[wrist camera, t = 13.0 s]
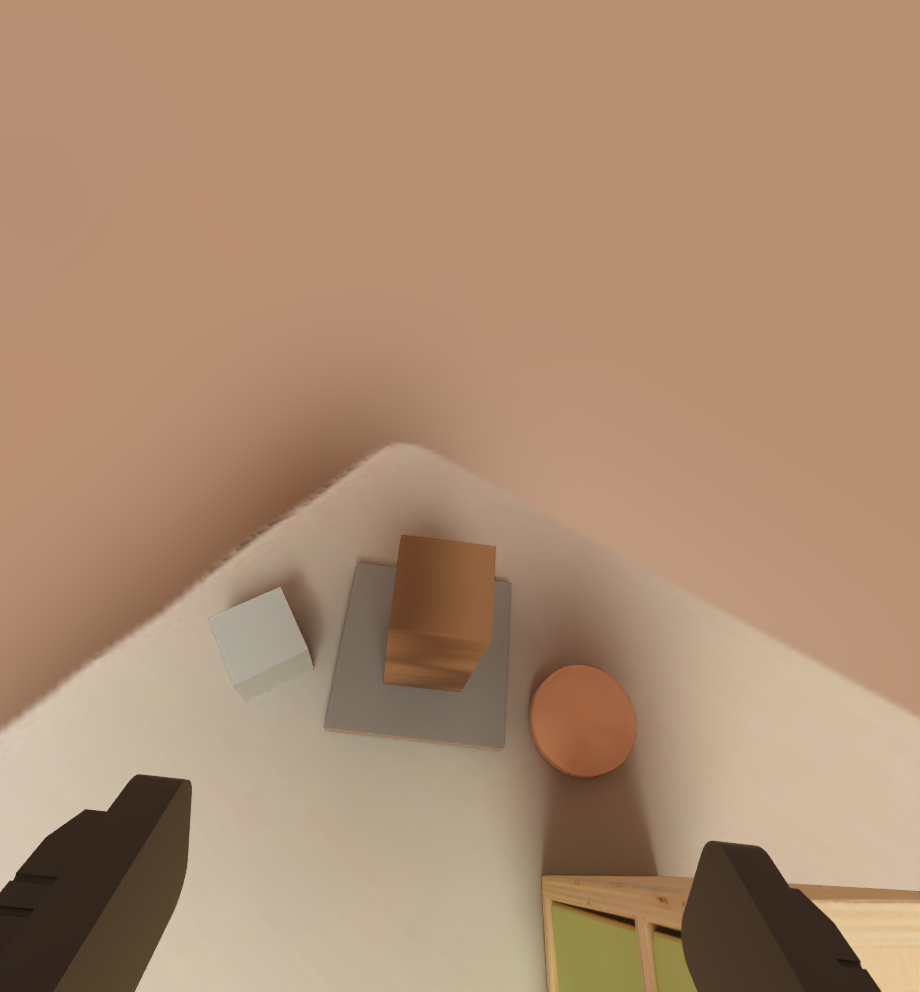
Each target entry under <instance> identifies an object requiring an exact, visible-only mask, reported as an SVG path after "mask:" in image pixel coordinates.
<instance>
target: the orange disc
mask: <svg viewBox="0 0 920 992" xmlns="http://www.w3.org/2000/svg"><path fill="white" fill-rule="evenodd" d="M528 721H529V729H530V733H531V736H532V739H533V742H534V744H535V746H536V748H537V749H538V751H539V752H540V754H541V755H542V756H543V758H544V759H545V760H546V761H547V762H548V763H549V764H550V765H551V766H553V767H554V768H556V769H557V770H559V771H561V772H562V773H565V774H567V775H570V776H574V777H580V778H587V777H594V776H598V775H601V774H604V773H607V772H609V771H612V770H613V769H615V768H617V767H618V766H619V765H620V764H622V763H623V762H624V760H625V759H626V758H627V757H628V755H629V753H630V752H631V750H632V747H633V744H634V741H635V736H636V718H635V713H634V710H633V707H632V704H631V702H630V700H629V697H628V696H627V694H626V692H625V691H624V690H623V688H622V687H621V686H620V685H619V684H618V683H617V681H616V680H614V679H613V678H612V677H611V676H609V675H608V674H607V673H605V672H603V671H601V670H599V669H597V668H594V667H591V666H587V665H570V666H566V667H563V668H560V669H558V670H556V671H555V672H554V673H552V674H551V675H550V676H549V677H548V678H547V679H546V680H545V681H544V682H542V683H541V684H540V686H539V687H538V688H537V690H536V691H535V693H534V695H533V697H532V700H531V703H530V707H529V716H528Z"/></svg>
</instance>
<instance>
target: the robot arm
mask: <svg viewBox="0 0 920 992" xmlns="http://www.w3.org/2000/svg"><path fill="white" fill-rule="evenodd" d="M191 797H192V785H191V782H190V780H186V779H177V778H168V777H159V776H150V775H141V774H138V775H136V776H134V777H133V778H132V779H131V780H130V781H129V783H128V784H127V785H126V786H125V788H124V789H123V790H122V792H121V793H120V795H119V796H118V797H117V799H116V800H115V801H114V803H113V804H112V805H111V807H110V808H109V809H108V811H107V812H105V811H96V810H87V809H85V810H84V811H83V812H81V813H80V814H78V815H77V816H75V817H74V818H73V819H71V820H70V821H68V822H67V823H66V824H64V825H63V826H61V827H60V828H58V829H57V830H56V831H54V832H53V833H51V834H50V835H48V836H47V837H46V838H45V839H44V840H43V841H42V843H41V844H40V845H39V846H38V847H37V849H36V850H35V851H34V852H33V853H32V855H31V856H30V857H29V858H28V860H27V861H26V862H25V863H24V864H23V866H22V867H21V868H20V869H19V870H18V872H17V873H16V876H15V878H14V880H13V881H9V882H8V884H7V885H6V886H5V887H4V888H3V890H2V891H1V892H0V992H135V990H136V988H137V986H138V984H139V982H140V980H141V978H142V975H143V973H144V971H145V969H146V967H147V965H148V963H149V961H150V959H151V957H152V955H153V953H154V951H155V949H156V947H157V945H158V943H159V941H160V939H161V937H162V934H163V932H164V930H165V928H166V926H167V924H168V922H169V920H170V918H171V916H172V914H173V912H174V909H175V907H176V904H177V902H178V899H179V896H180V893H181V890H182V886H183V883H184V879H185V874H186V869H187V862H188V846H189V830H190V814H191ZM681 937H682V946H683V952H684V957H685V961H686V964H687V967H688V970H689V972H690V975H691V977H692V980H693V982H694V985H695V987H696V990H697V992H882V991H881V990H880V988H879V987H878V985H877V984H876V983H875V981H874V980H873V978H872V977H871V975H870V974H869V972H868V971H867V970H866V969H862V967H861V961H860V959H859V958H858V957H857V955H856V954H855V952H854V951H853V949H852V948H851V946H850V945H849V944H848V942H847V941H846V939H845V938H844V936H843V935H842V933H841V932H840V931H839V929H838V928H837V926H836V925H835V923H834V922H833V921H832V920H831V919H830V918H829V917H828V916H827V915H826V914H825V913H823V912H822V911H821V910H820V909H819V908H818V907H817V906H816V905H815V904H814V903H813V902H812V901H811V900H810V899H809V898H808V897H807V896H806V895H805V894H804V893H803V892H801V891H800V890H799V889H796V888H790V887H789V885H788V884H787V882H786V881H785V879H784V878H783V876H782V875H781V873H780V872H779V870H778V869H777V867H776V866H775V864H774V863H773V861H772V859H771V858H770V856H769V855H768V854H767V852H765V851H764V850H763V849H762V848H761V847H759V846H754V845H745V844H737V843H728V842H719V841H709V842H708V843H707V844H706V845H705V846H704V848H703V851H702V853H701V857H700V860H699V863H698V867H697V870H696V873H695V877H694V880H693V883H692V886H691V890H690V893H689V896H688V900H687V903H686V906H685V910H684V913H683V917H682V924H681Z"/></svg>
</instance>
